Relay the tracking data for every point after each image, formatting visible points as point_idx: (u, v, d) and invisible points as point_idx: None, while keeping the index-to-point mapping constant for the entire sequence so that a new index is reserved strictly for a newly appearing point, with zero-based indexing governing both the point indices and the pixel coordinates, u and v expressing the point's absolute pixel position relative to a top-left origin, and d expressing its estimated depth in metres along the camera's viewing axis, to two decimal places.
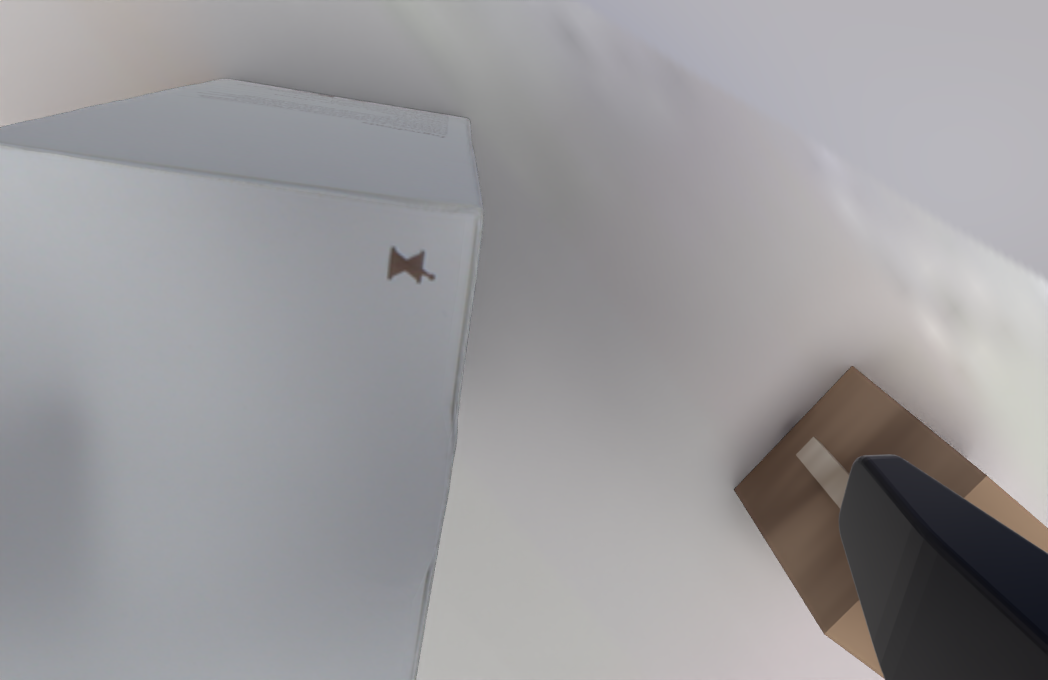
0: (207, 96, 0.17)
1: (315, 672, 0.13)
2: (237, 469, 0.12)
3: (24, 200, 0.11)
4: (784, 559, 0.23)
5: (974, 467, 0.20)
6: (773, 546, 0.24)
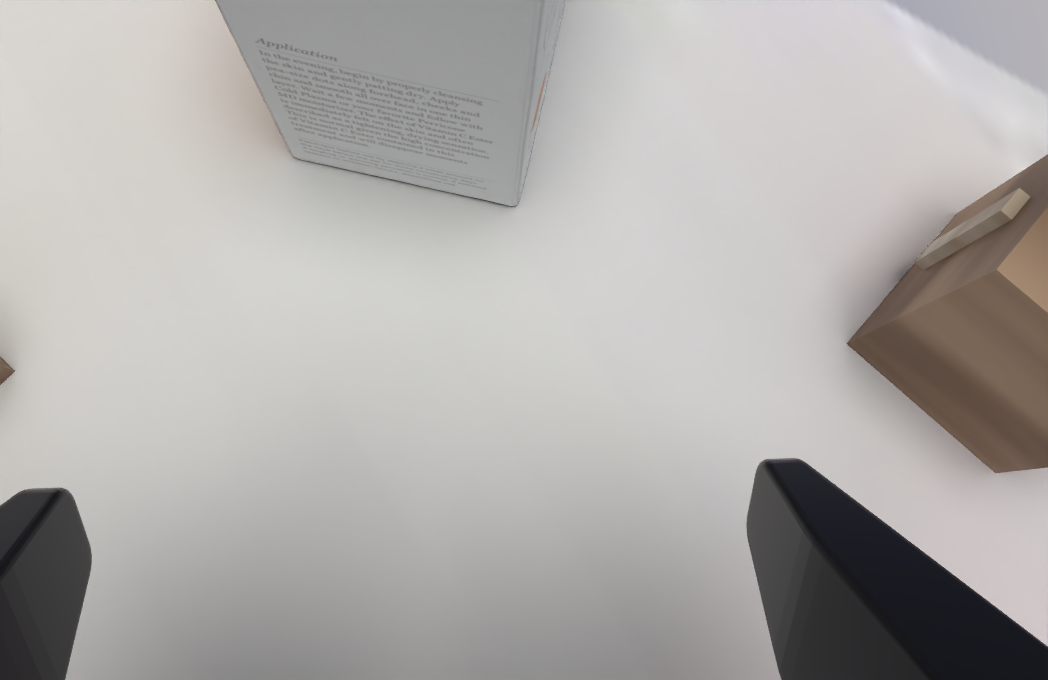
0: None
1: None
2: None
3: None
4: (925, 302, 0.20)
5: None
6: (908, 311, 0.21)
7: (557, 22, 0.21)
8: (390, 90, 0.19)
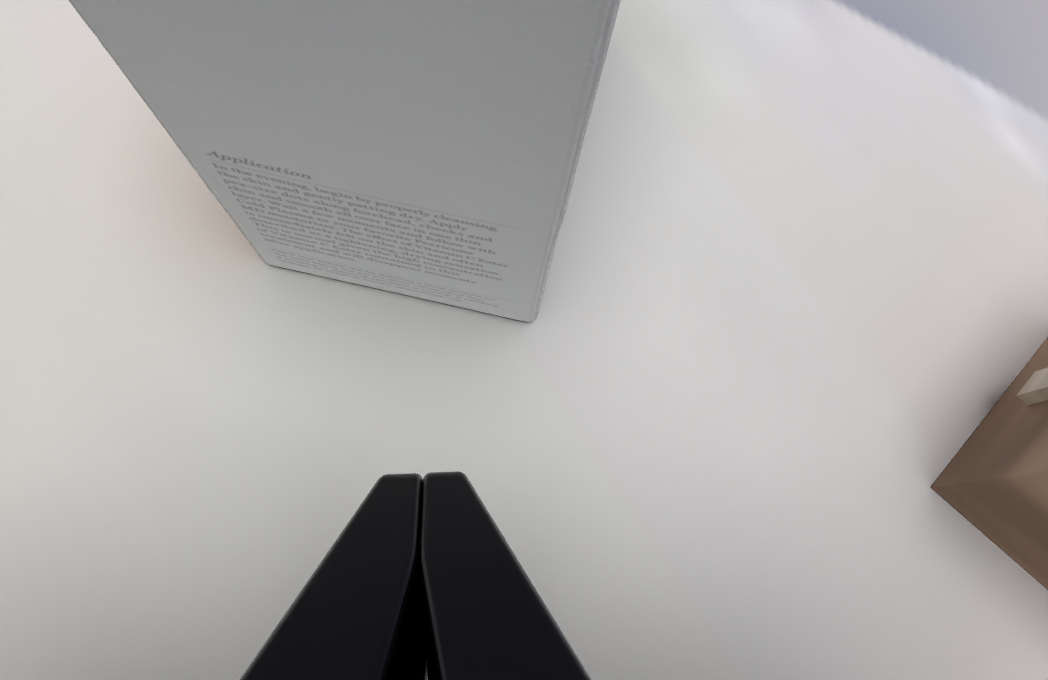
0: None
1: None
2: None
3: None
4: (1047, 465, 0.16)
5: None
6: (1023, 471, 0.17)
7: None
8: (379, 211, 0.15)
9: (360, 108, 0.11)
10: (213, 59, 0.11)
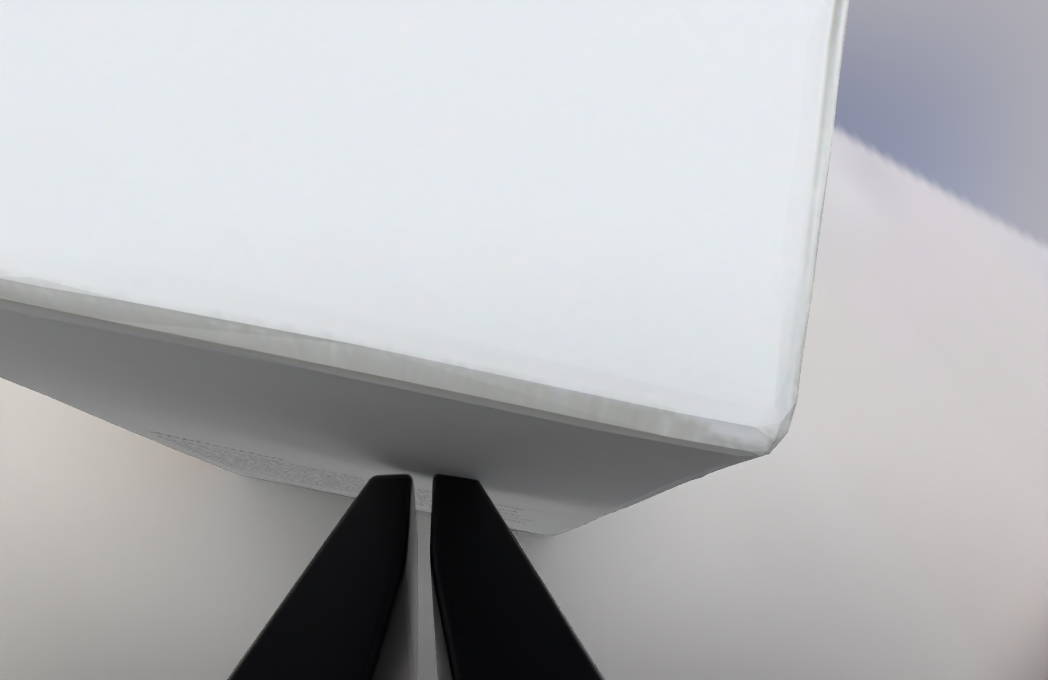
0: None
1: (559, 204, 0.05)
2: None
3: None
4: None
5: None
6: None
7: None
8: None
9: (346, 447, 0.08)
10: (137, 399, 0.08)
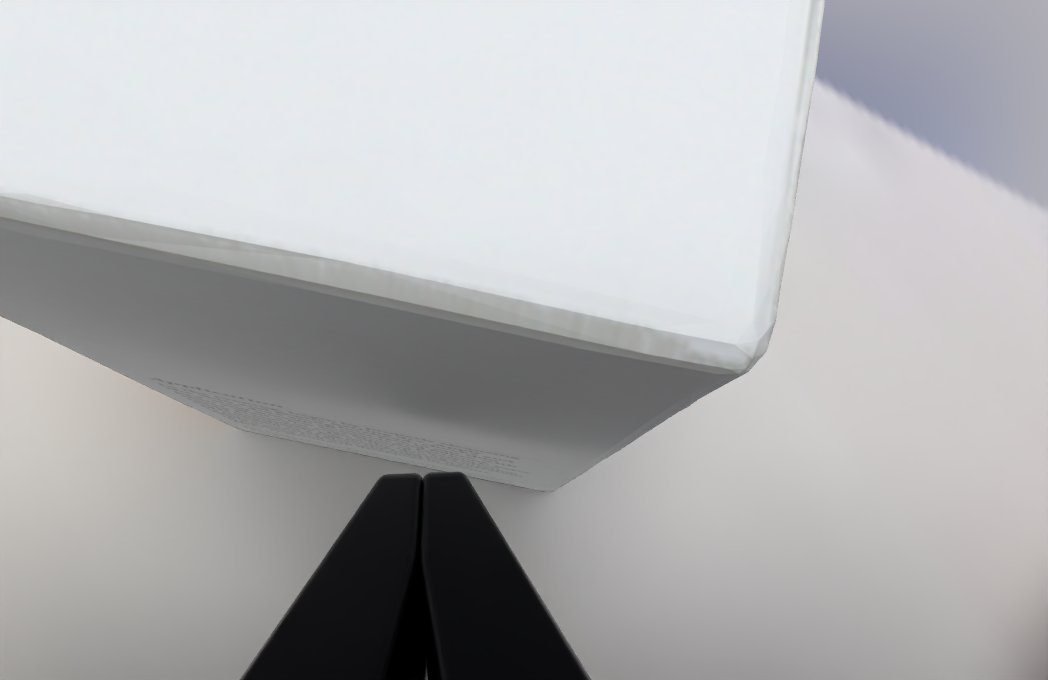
0: None
1: (543, 126, 0.05)
2: None
3: None
4: None
5: None
6: None
7: None
8: (370, 431, 0.12)
9: (342, 387, 0.08)
10: (136, 337, 0.08)
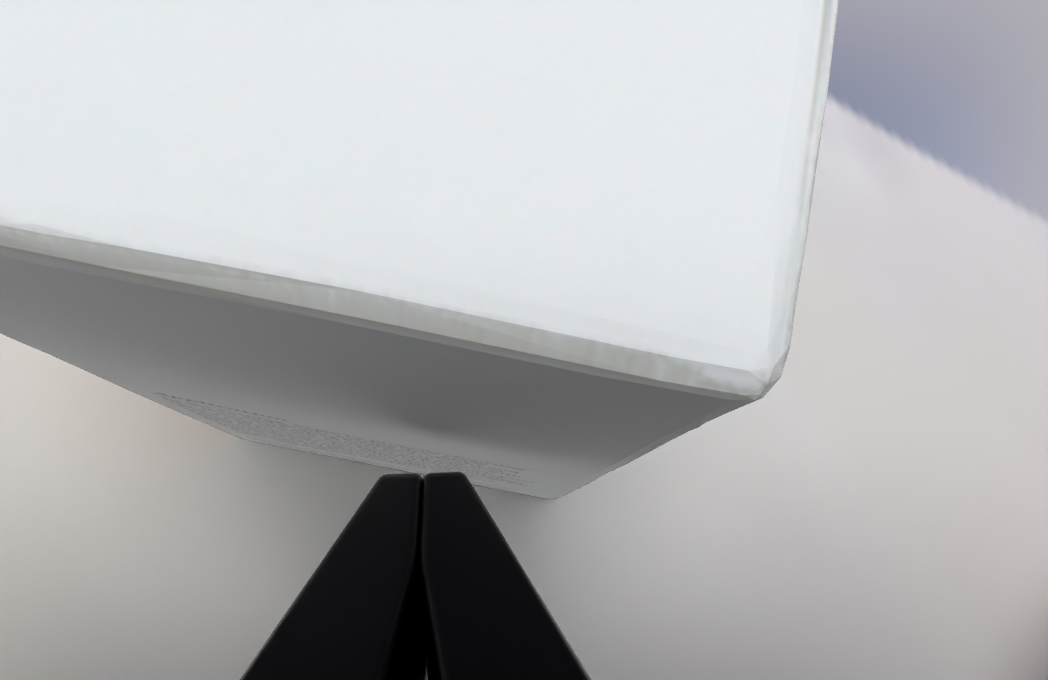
0: None
1: (554, 151, 0.05)
2: None
3: None
4: None
5: None
6: None
7: None
8: (375, 443, 0.12)
9: (348, 403, 0.08)
10: (140, 356, 0.08)
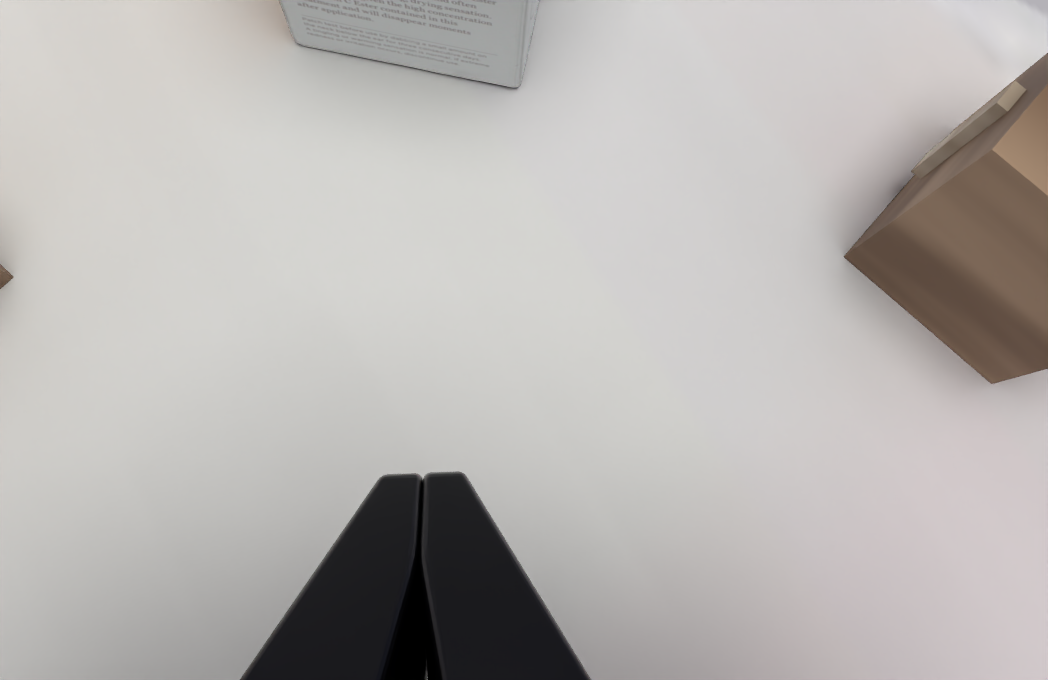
0: None
1: None
2: None
3: None
4: (921, 198, 0.20)
5: None
6: (905, 211, 0.21)
7: None
8: None
9: None
10: None
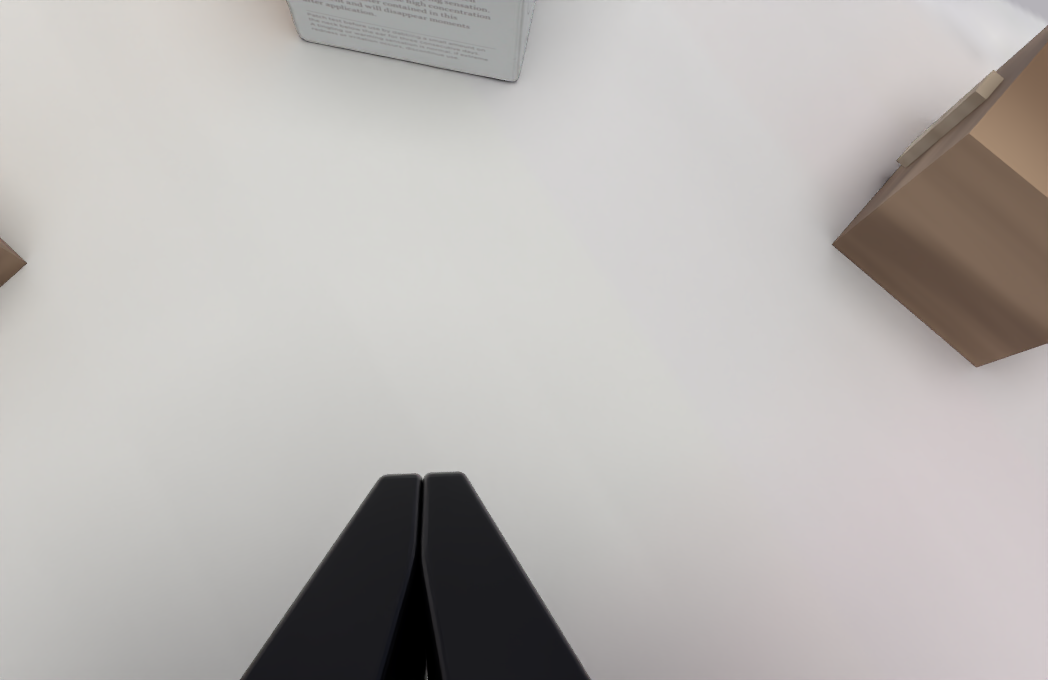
0: None
1: None
2: None
3: None
4: (904, 184, 0.21)
5: None
6: (889, 197, 0.22)
7: None
8: None
9: None
10: None
